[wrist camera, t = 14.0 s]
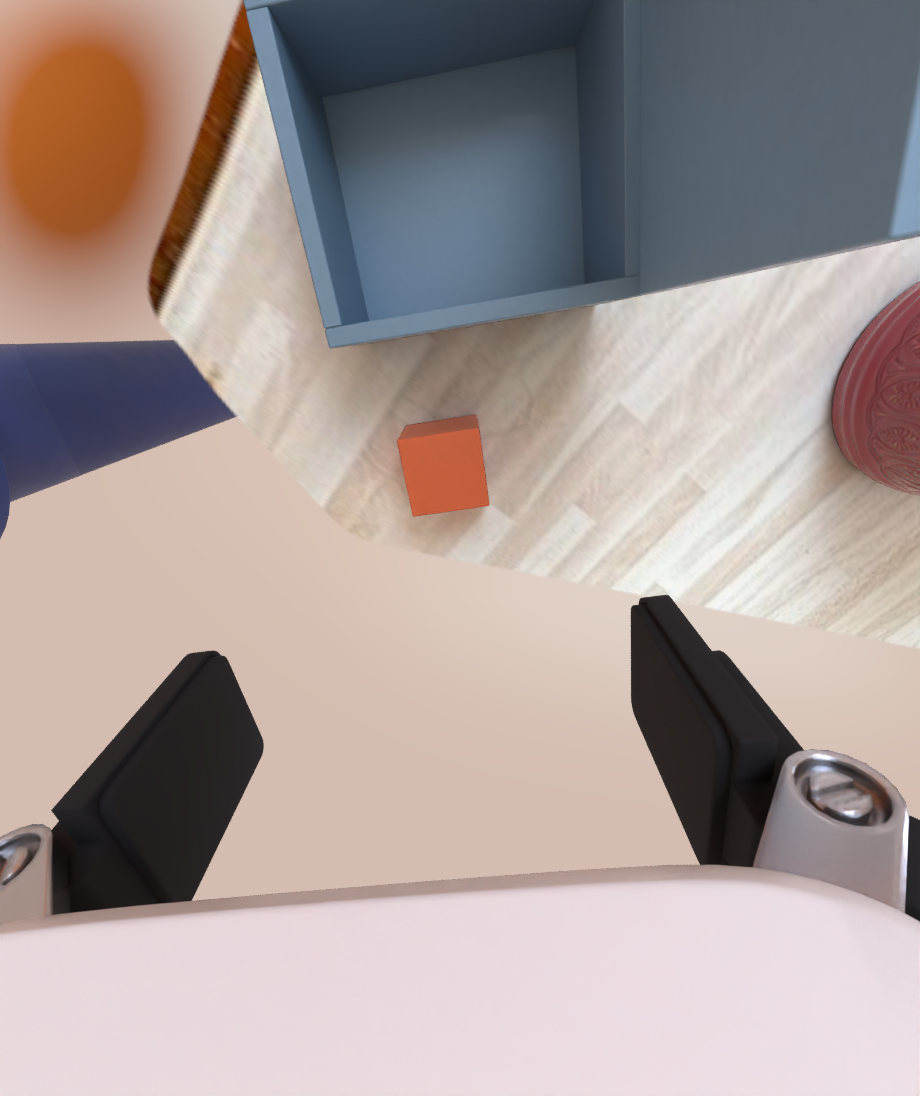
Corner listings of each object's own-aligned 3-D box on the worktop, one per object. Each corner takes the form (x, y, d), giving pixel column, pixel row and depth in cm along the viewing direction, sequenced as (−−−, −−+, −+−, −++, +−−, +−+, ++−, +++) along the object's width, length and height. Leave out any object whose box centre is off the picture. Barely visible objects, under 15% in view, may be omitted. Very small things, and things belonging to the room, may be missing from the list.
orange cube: (418, 493, 31) (412, 517, 27) (405, 425, 30) (396, 440, 26) (485, 483, 31) (489, 506, 27) (476, 414, 29) (479, 427, 25)
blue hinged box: (362, 344, 28) (329, 348, 21) (306, 87, 23) (236, -23, 16) (596, 304, 27) (644, 295, 20) (588, 29, 22) (648, -116, 15)
